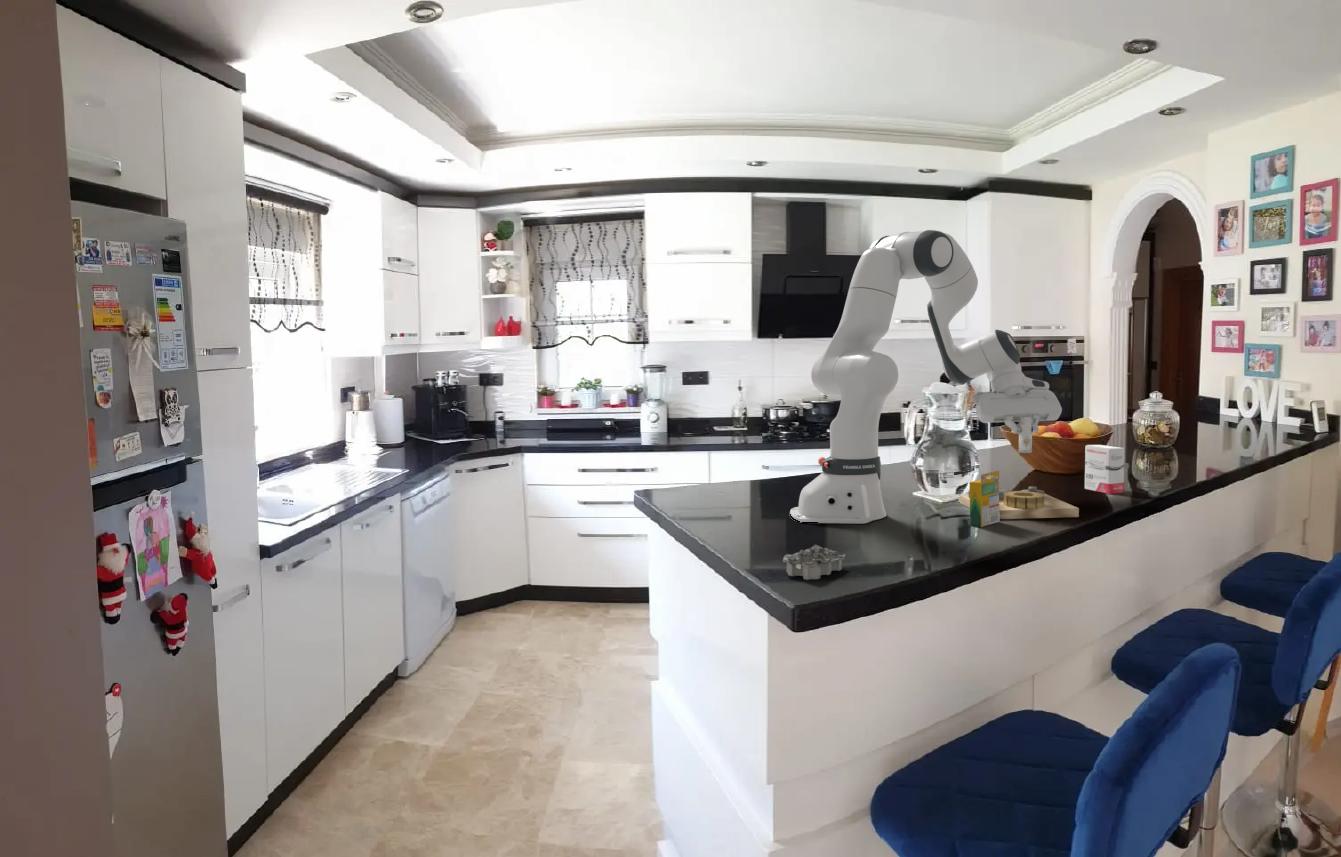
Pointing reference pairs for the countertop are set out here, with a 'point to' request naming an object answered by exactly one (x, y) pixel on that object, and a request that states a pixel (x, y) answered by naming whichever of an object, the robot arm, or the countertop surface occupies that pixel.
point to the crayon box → (984, 500)
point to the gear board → (1035, 513)
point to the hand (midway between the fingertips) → (1026, 431)
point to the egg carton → (813, 562)
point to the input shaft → (1025, 434)
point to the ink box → (1104, 469)
